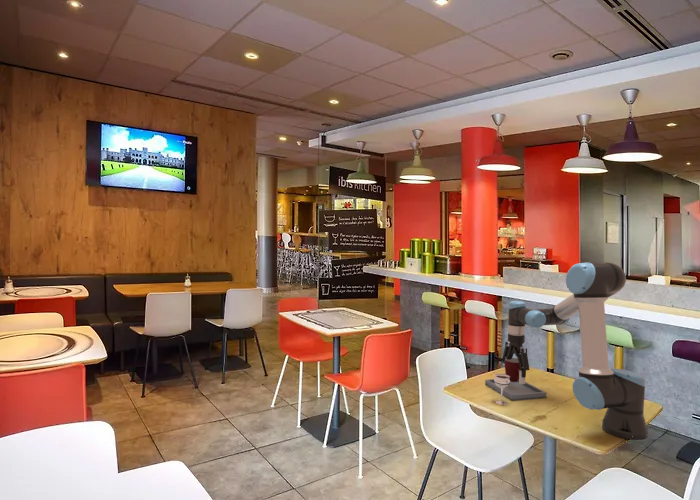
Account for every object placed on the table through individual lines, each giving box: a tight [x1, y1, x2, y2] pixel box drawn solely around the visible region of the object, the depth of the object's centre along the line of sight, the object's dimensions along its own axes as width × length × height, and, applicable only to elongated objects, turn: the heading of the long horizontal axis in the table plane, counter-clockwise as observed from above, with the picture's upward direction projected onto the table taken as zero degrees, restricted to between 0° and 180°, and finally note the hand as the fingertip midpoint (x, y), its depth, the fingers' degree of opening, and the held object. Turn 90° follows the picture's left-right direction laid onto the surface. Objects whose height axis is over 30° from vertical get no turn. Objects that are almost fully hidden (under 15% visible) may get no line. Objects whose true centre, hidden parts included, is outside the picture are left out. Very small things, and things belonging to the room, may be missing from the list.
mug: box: [504, 357, 521, 382], centre depth 216 cm, size 10×8×10 cm
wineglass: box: [493, 373, 510, 406], centre depth 201 cm, size 7×7×12 cm
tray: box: [484, 378, 547, 402], centre depth 216 cm, size 22×18×2 cm
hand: (514, 379), depth 216 cm, fingers closed on mug, 10 cm apart
